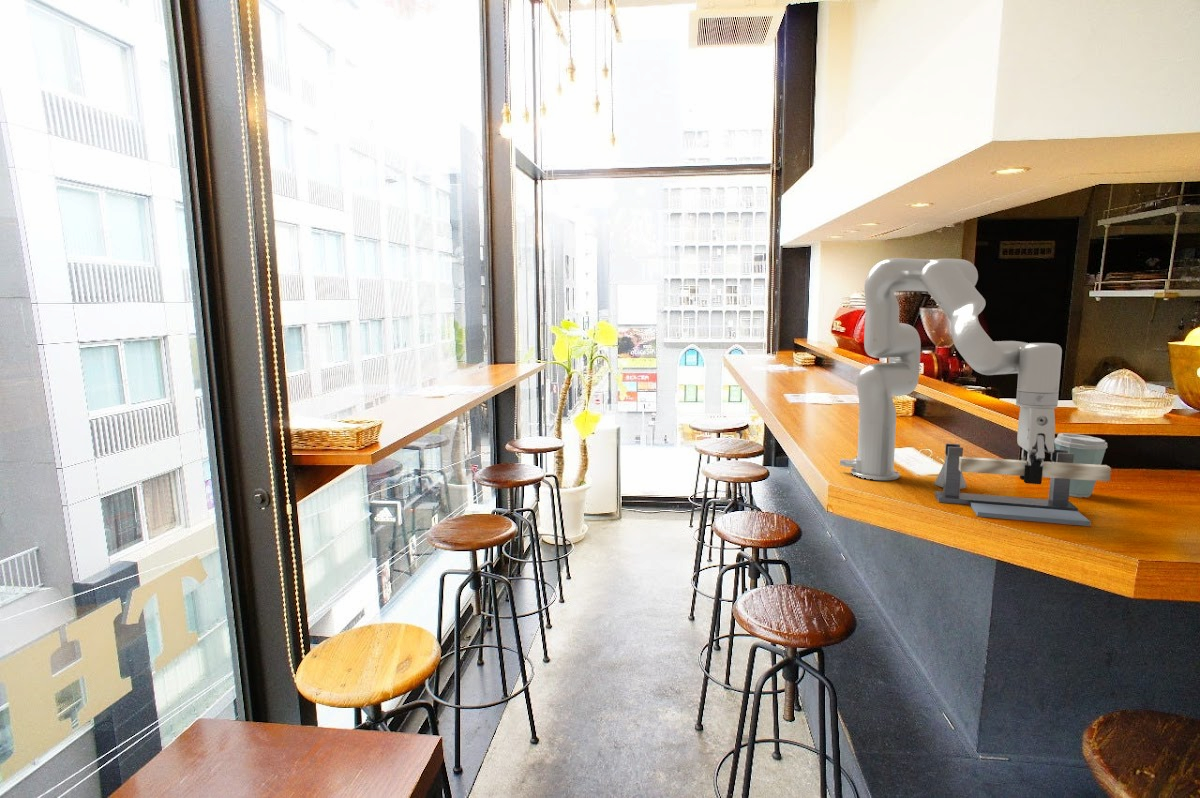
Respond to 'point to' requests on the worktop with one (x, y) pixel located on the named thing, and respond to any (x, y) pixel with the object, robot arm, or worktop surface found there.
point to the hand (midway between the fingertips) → (1030, 480)
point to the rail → (1049, 471)
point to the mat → (1030, 514)
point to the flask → (940, 479)
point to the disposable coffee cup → (1082, 458)
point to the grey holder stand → (952, 495)
